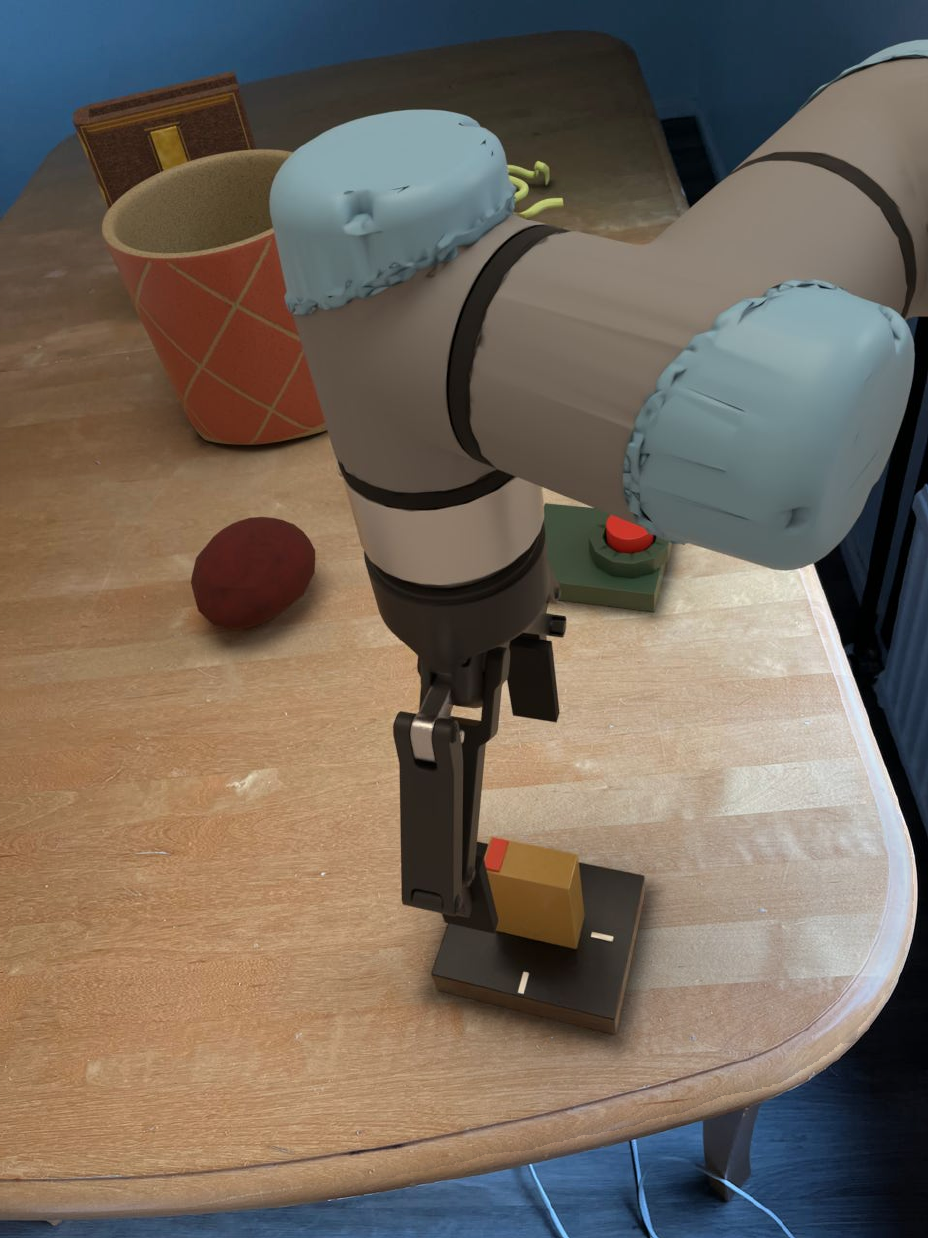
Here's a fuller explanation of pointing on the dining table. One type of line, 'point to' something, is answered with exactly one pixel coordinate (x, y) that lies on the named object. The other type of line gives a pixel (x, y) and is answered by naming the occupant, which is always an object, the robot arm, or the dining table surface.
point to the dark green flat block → (600, 561)
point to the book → (161, 130)
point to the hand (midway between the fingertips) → (506, 810)
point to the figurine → (524, 188)
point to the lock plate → (553, 958)
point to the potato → (252, 572)
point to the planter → (217, 296)
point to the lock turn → (536, 891)
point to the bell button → (626, 536)
